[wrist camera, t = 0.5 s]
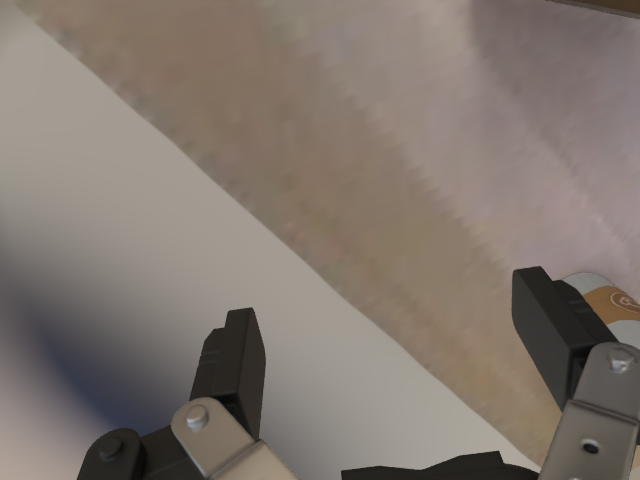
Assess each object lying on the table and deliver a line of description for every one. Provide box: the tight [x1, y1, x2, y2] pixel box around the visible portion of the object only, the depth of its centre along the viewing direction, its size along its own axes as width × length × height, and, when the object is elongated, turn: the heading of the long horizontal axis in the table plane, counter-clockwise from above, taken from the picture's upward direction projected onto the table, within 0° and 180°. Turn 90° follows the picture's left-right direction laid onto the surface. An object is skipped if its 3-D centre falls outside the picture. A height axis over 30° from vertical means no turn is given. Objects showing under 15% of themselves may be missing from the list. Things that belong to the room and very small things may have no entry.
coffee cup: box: [563, 272, 640, 349], centre depth 45 cm, size 8×8×15 cm
